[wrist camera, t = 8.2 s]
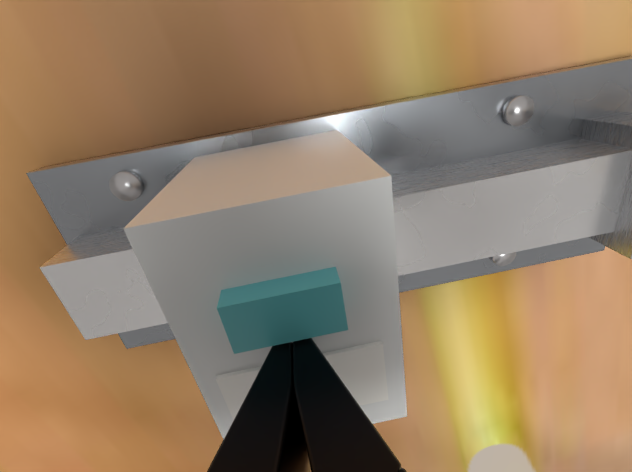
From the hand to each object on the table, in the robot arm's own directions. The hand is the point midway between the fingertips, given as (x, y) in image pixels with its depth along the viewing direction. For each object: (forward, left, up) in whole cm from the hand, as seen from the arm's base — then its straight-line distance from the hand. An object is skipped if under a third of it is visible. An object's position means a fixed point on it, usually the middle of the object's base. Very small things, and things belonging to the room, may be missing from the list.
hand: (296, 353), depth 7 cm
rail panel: (0, -3, -7) cm, 8 cm away
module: (0, 0, -6) cm, 6 cm away
